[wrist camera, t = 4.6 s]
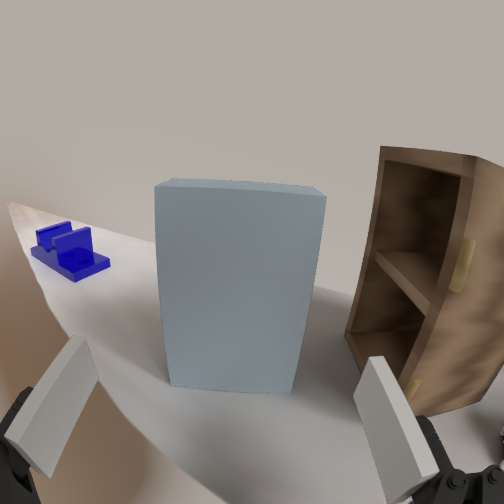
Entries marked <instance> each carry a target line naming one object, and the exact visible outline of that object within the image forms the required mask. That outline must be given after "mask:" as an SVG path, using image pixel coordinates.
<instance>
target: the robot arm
mask: <svg viewBox="0 0 504 504" xmlns="http://www.w3.org/2000/svg"><path fill="white" fill-rule="evenodd" d="M98 379H99V377H98V374H97V372H96V369H95V366H94V363H93V360H92V357H91V354H90V350H89V347H88V344H87V340H86V337H82V336H77V335H72V337H71V338H70V339H69V340H68V342H67V343H66V344H65V346H64V347H63V348H62V350H61V351H60V353H59V354H58V355H57V356H56V358H55V359H54V361H53V362H52V363H51V365H50V366H49V368H48V369H47V370H46V372H45V373H44V375H43V376H42V377H41V379H40V380H39V382H38V383H37V385H36V386H35V388H32V387H27V388H26V389H25V390H23V391H22V392H21V393H20V394H19V396H18V397H17V399H16V400H15V402H14V403H13V404H12V406H11V409H9V411H8V412H7V414H6V415H5V417H4V418H3V420H2V422H1V423H0V504H41V502H40V500H39V497H38V494H37V491H36V488H35V485H34V482H33V478H32V475H31V473H30V471H29V467H30V466H32V467H33V468H34V469H35V470H36V471H37V472H38V473H40V474H42V475H44V476H46V477H48V478H50V479H51V477H52V475H53V472H54V470H55V467H56V465H57V463H58V461H59V458H60V456H61V454H62V452H63V449H64V447H65V445H66V443H67V441H68V439H69V436H70V434H71V432H72V430H73V428H74V426H75V424H76V422H77V420H78V418H79V416H80V414H81V412H82V410H83V408H84V406H85V404H86V402H87V400H88V398H89V396H90V394H91V392H92V390H93V388H94V386H95V385H96V383H97V381H98ZM353 398H354V401H355V404H356V406H357V409H358V412H359V415H360V418H361V421H362V424H363V427H364V430H365V433H366V436H367V439H368V442H369V445H370V448H371V451H372V454H373V458H374V461H375V464H376V467H377V470H378V474H379V477H380V480H381V484H382V487H383V490H384V494H385V497H386V501H387V504H396V503H400V502H403V501H405V500H406V499H408V498H409V497H410V496H412V499H413V500H412V501H411V502H410V503H408V504H504V471H503V470H502V468H501V467H499V466H498V465H490V466H488V467H487V468H486V469H485V470H484V471H482V472H478V473H469V474H465V473H464V472H463V471H461V470H459V469H455V468H454V467H453V466H452V464H451V462H450V460H449V458H448V456H447V453H446V451H445V449H444V447H443V445H442V443H441V441H440V440H439V437H438V435H437V433H435V432H436V431H435V429H434V427H433V425H432V423H431V422H430V421H429V420H428V419H427V418H426V417H425V416H424V415H419V416H414V414H413V412H412V410H411V408H410V406H409V404H408V402H407V400H406V398H405V396H404V394H403V392H402V390H401V388H400V386H399V384H398V383H397V381H396V379H395V377H394V375H393V373H392V371H391V369H390V367H389V366H388V364H387V362H386V360H385V358H384V356H376V357H369V359H368V361H367V364H366V366H365V369H364V371H363V374H362V376H361V379H360V381H359V383H358V386H357V388H356V390H355V393H354V395H353Z"/></svg>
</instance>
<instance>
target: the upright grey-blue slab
mask: <svg viewBox="0 0 504 504" xmlns="http://www.w3.org/2000/svg"><path fill="white" fill-rule="evenodd" d="M325 206H326V196H325V195H324V194H322V193H321V192H319V191H318V190H316V189H315V188H313V187H308V186H298V185H287V184H276V183H263V182H249V181H232V180H211V179H180V178H176V179H175V178H172V179H170V180H168V181H165V182H163V183H161V184H158V185H157V186H155V237H156V258H157V274H158V287H159V299H160V310H161V319H162V328H163V337H164V345H165V352H166V359H167V366H168V373H169V379H170V385H171V386H177V387H185V388H193V389H203V390H214V391H226V392H243V393H272V394H291V390H292V386H293V382H294V378H295V374H296V369H297V365H298V360H299V356H300V351H301V347H302V342H303V337H304V332H305V328H306V323H307V317H308V312H309V307H310V302H311V296H312V291H313V285H314V279H315V273H316V267H317V261H318V255H319V249H320V242H321V235H322V228H323V221H324V214H325Z"/></svg>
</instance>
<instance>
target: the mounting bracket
mask: <svg viewBox="0 0 504 504" xmlns="http://www.w3.org/2000/svg"><path fill="white" fill-rule="evenodd" d="M36 237H37V243H38V246H35V247H32V248H31V254H32V256H34V257H35V258H37V259H38V260H40V261H41V262H43V263H44V264H46V265H47V266H49V267H50V268H52V269H54V270H55V271H57V272H58V273H60V274H61V275H63V276H65V277H66V278H68V279H70V280H71V281H73V282H74V283H75V282H77V281H79V280H82V279H84V278H86V277H88V276H90V275H93V274H95V273H97V272H99V271H102V270H104V269H106V268H109V267H110V259H109V258H107V257H105V256H102V255H100V254H97V253H95V252H93V246H92V237H91V228H90V227H84V228H81V229H78V230H75V231H73V230H72V227H71V222H70V221H65V222H62V223H59V224H55V225H52V226H49V227H46V228H43V229H39V230H36Z"/></svg>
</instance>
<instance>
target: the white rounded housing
mask: <svg viewBox="0 0 504 504" xmlns="http://www.w3.org/2000/svg"><path fill="white" fill-rule="evenodd" d="M500 435H502V436H504V426H503V427H502V428H501V431H500ZM503 443H504V441H503ZM499 467H501V468H502V470H504V459H503V461H502V462H501V463H500V465H499Z"/></svg>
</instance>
